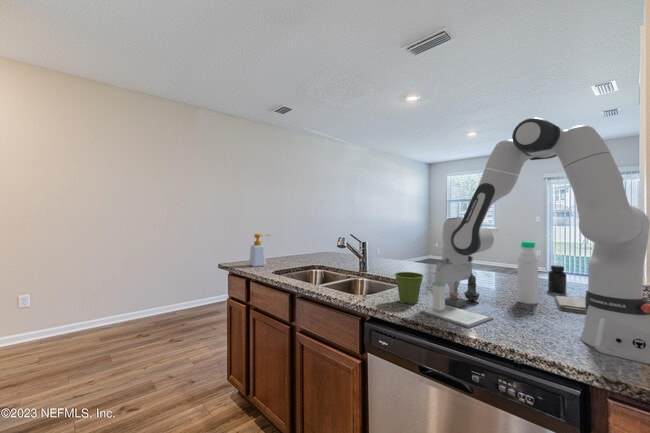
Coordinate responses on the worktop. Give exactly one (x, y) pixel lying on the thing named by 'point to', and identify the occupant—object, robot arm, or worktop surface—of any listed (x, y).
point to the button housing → (455, 302)
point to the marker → (438, 297)
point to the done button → (453, 295)
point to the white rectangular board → (458, 316)
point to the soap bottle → (257, 253)
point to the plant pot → (409, 286)
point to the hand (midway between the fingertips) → (453, 292)
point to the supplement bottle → (557, 279)
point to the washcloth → (571, 304)
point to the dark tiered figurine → (472, 291)
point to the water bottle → (527, 274)
